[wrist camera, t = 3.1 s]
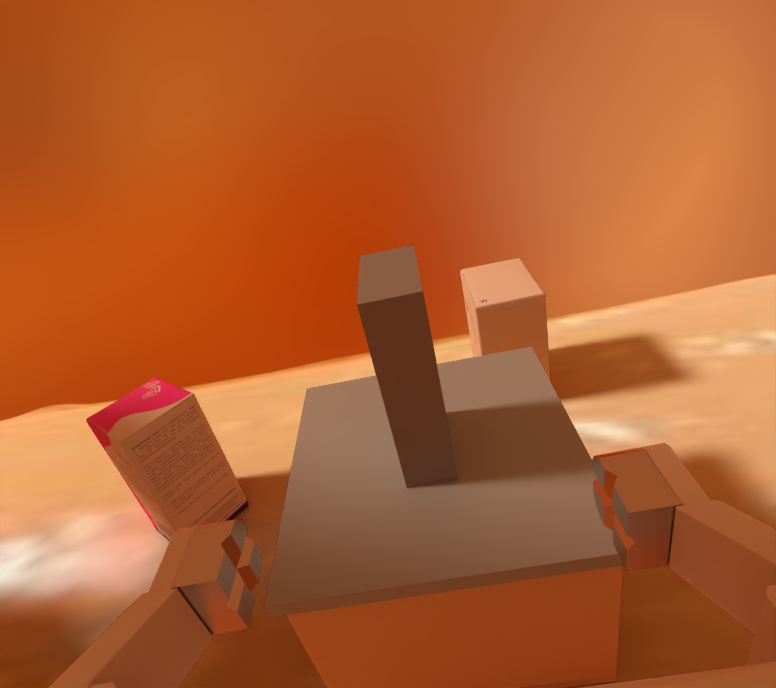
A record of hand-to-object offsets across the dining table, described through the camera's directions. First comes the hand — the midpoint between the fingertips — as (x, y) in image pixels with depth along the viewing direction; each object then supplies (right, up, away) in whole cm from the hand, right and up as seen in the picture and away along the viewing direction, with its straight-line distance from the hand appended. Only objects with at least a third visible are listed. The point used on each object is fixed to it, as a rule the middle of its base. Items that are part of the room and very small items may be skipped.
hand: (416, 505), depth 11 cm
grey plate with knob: (+2, -2, +15) cm, 15 cm away
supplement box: (-16, -10, +29) cm, 34 cm away
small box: (+11, 0, +35) cm, 37 cm away
